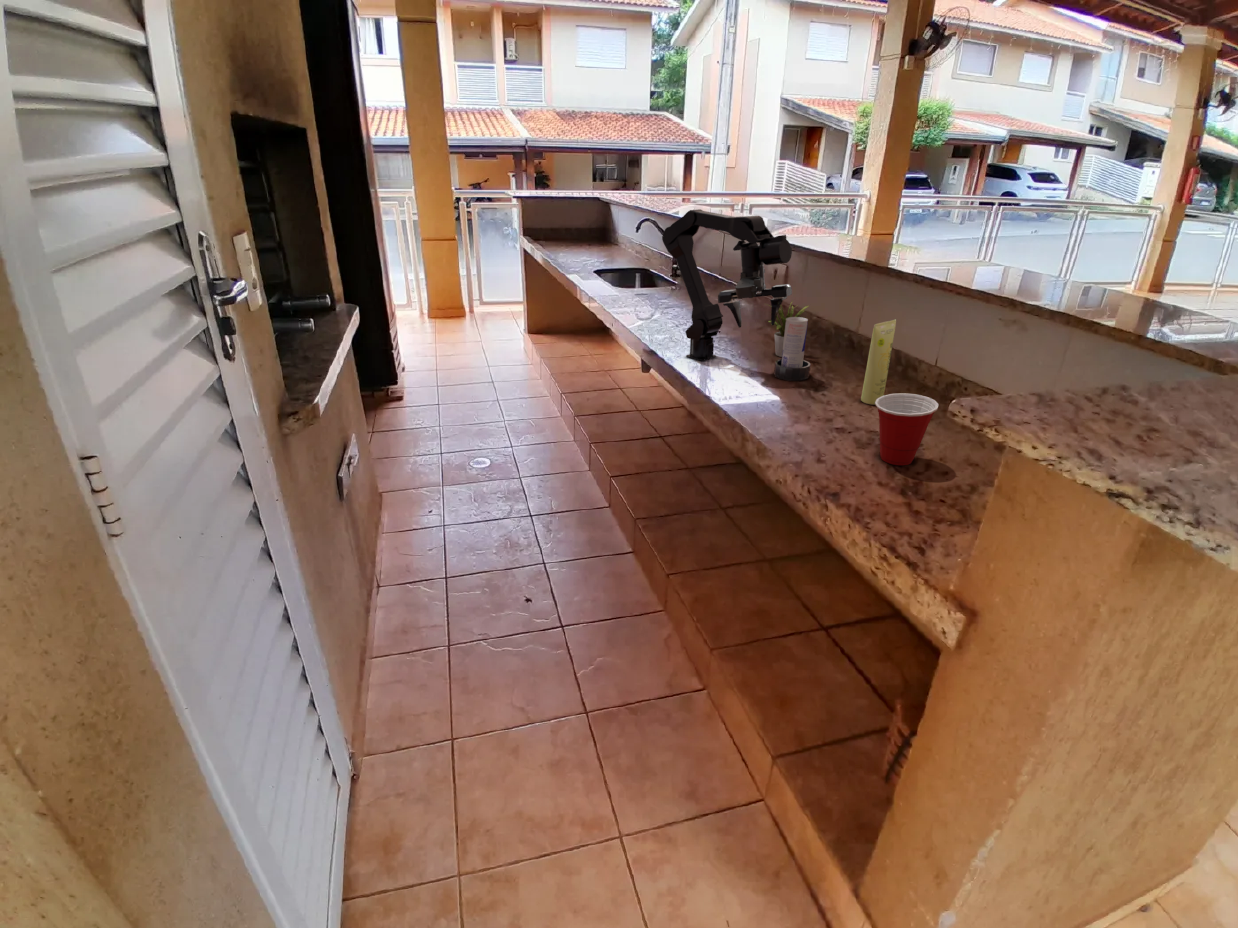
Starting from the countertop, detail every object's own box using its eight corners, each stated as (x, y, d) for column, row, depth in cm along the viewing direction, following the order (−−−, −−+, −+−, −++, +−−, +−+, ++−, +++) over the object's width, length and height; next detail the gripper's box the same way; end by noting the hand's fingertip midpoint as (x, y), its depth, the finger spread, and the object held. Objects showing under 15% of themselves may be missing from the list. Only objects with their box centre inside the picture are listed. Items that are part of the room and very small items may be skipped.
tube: (883, 407, 145) (898, 324, 137) (860, 405, 147) (874, 323, 138) (881, 399, 150) (896, 319, 142) (859, 397, 152) (873, 318, 143)
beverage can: (805, 375, 166) (812, 320, 159) (786, 377, 165) (792, 321, 158) (795, 369, 171) (801, 315, 164) (776, 371, 170) (782, 317, 163)
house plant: (751, 358, 183) (756, 303, 176) (760, 347, 194) (765, 294, 187) (801, 363, 178) (807, 306, 171) (806, 351, 189) (813, 297, 182)
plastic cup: (856, 449, 124) (865, 392, 119) (907, 446, 125) (919, 390, 120) (881, 473, 114) (892, 413, 109) (936, 470, 115) (951, 410, 110)
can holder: (767, 375, 168) (768, 363, 167) (786, 368, 174) (787, 356, 172) (796, 383, 162) (797, 370, 160) (815, 375, 167) (817, 363, 166)
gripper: (708, 273, 161) (713, 333, 166) (779, 265, 151) (782, 329, 156) (723, 269, 170) (727, 326, 174) (791, 261, 160) (793, 322, 165)
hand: (756, 326), depth 167 cm, fingers open, 9 cm apart
